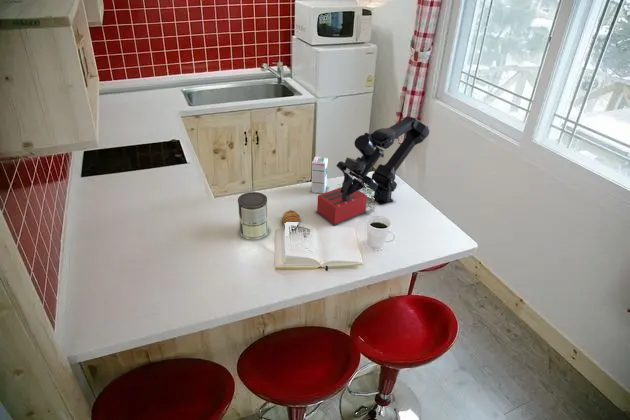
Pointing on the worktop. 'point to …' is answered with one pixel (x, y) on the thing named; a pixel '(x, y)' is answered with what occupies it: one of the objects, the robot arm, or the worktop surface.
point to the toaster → (340, 206)
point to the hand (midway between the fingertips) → (343, 194)
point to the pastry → (291, 216)
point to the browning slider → (345, 190)
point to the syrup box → (319, 174)
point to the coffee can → (253, 215)
